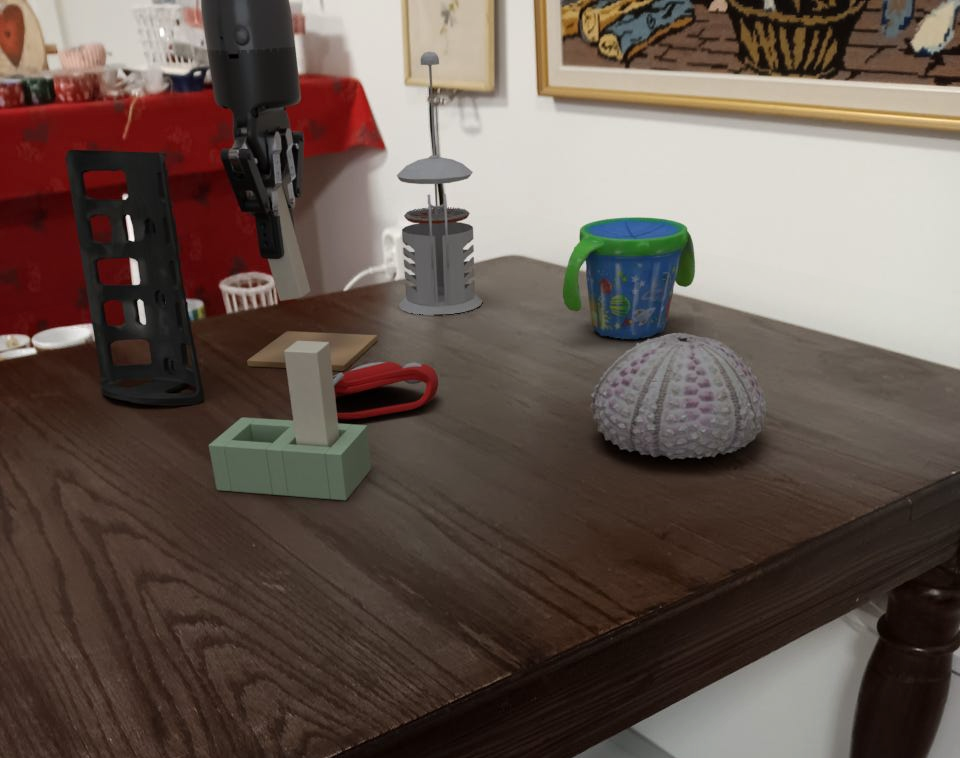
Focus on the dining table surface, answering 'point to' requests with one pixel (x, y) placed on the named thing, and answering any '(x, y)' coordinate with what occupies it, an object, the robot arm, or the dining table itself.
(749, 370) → the sea urchin shell
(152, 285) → the holder
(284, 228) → the peg back
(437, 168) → the french press
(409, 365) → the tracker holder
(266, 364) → the coaster
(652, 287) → the snack cup
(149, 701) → the dining table surface
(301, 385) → the peg front
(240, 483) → the peg rack
